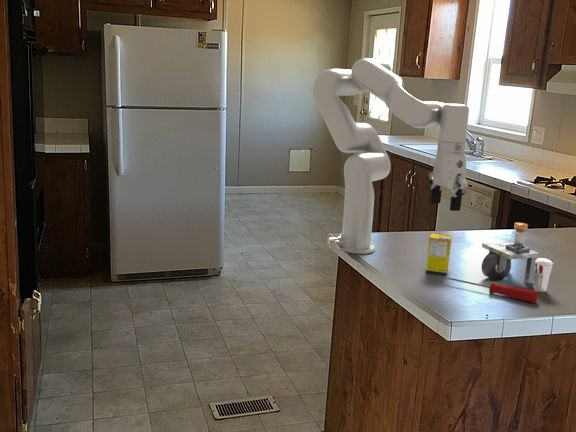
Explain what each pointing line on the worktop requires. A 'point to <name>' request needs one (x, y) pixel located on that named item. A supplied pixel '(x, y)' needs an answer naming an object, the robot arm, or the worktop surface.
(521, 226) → the light bulb
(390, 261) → the worktop surface
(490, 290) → the screwdriver
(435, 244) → the supplement box
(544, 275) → the milkshake
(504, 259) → the grey flat-topped wheeled fixture
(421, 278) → the worktop surface
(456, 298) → the worktop surface
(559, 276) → the worktop surface
